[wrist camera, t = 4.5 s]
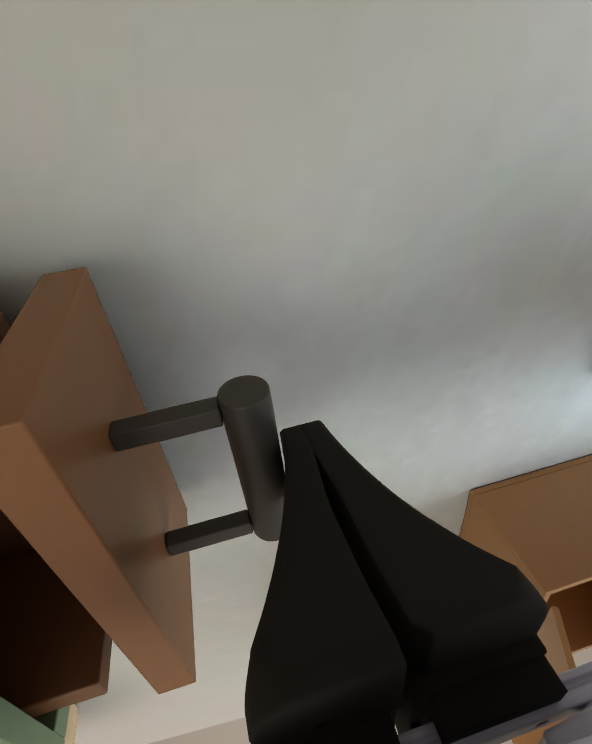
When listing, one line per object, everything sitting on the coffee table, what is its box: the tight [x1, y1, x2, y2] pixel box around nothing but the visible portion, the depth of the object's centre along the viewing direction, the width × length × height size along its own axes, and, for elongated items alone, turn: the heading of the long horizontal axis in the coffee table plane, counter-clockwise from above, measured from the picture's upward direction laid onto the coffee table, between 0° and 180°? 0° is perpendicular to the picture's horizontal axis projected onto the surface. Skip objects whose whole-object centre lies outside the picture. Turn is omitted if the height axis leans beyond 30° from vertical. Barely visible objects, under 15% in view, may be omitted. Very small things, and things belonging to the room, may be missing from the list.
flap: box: [512, 606, 577, 744], centre depth 21 cm, size 7×12×1 cm
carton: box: [460, 455, 592, 654], centre depth 27 cm, size 14×12×7 cm
